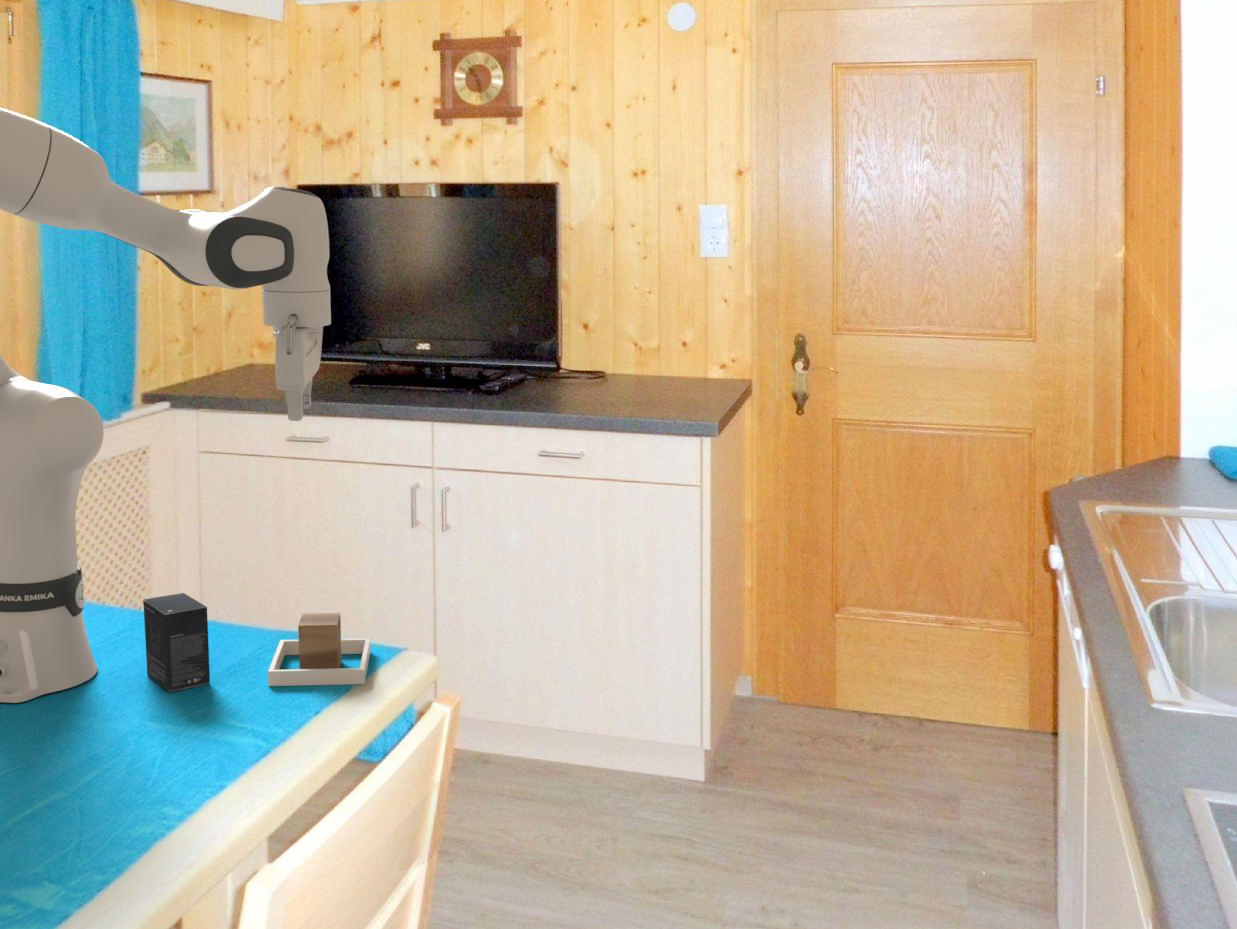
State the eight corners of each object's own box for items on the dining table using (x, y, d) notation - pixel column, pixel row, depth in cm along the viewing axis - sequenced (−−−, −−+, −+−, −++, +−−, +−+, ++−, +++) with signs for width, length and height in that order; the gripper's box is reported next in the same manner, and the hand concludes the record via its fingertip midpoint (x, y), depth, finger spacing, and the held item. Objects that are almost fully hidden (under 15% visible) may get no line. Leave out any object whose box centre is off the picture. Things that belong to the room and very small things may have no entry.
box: (211, 684, 173) (207, 606, 171) (168, 693, 170) (164, 614, 167) (188, 666, 179) (184, 591, 177) (145, 675, 175) (141, 598, 173)
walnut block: (338, 675, 177) (337, 624, 176) (299, 676, 177) (298, 625, 175) (341, 661, 182) (340, 612, 181) (304, 662, 181) (302, 613, 180)
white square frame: (268, 686, 173) (267, 671, 172) (280, 653, 184) (280, 639, 184) (364, 684, 174) (364, 669, 174) (370, 652, 186) (370, 638, 185)
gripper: (312, 319, 168) (315, 427, 171) (328, 305, 188) (330, 402, 191) (261, 319, 168) (265, 427, 170) (282, 304, 187) (285, 402, 190)
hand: (299, 414), depth 181 cm, fingers open, 8 cm apart
